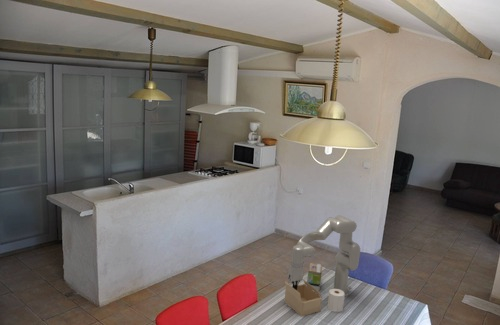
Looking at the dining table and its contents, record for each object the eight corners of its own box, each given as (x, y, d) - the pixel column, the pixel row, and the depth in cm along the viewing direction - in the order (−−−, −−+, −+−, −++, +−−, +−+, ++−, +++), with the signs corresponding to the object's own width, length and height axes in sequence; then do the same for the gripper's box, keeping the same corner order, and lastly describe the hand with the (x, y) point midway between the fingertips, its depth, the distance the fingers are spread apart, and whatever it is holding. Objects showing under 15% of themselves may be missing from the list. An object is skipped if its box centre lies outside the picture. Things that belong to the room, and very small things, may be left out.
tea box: (319, 291, 298) (321, 272, 295) (306, 288, 300) (308, 270, 297) (320, 281, 312) (322, 264, 309) (307, 279, 314) (309, 262, 311)
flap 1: (285, 281, 275) (285, 281, 275) (300, 293, 260) (299, 293, 260) (286, 288, 277) (285, 289, 277) (301, 301, 262) (300, 301, 262)
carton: (302, 296, 288) (303, 283, 286) (320, 311, 270) (322, 298, 268) (284, 301, 281) (285, 288, 279) (301, 316, 263) (302, 303, 261)
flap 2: (305, 284, 285) (305, 284, 285) (320, 296, 270) (321, 296, 270) (302, 279, 282) (302, 278, 282) (317, 290, 267) (317, 290, 267)
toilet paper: (342, 313, 269) (343, 297, 267) (326, 310, 272) (328, 294, 270) (343, 306, 279) (345, 290, 276) (328, 302, 282) (330, 287, 280)
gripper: (302, 260, 272) (300, 284, 276) (284, 263, 265) (282, 289, 269) (309, 264, 266) (307, 290, 269) (290, 268, 259) (288, 294, 262)
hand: (294, 289), depth 269 cm, fingers closed
